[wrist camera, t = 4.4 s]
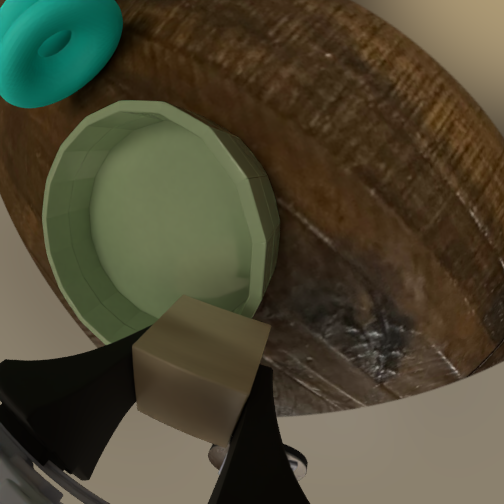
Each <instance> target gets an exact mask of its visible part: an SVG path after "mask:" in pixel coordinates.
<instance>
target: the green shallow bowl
mask: <svg viewBox="0 0 504 504" xmlns="http://www.w3.org/2000/svg"><path fill="white" fill-rule="evenodd" d="M42 222H43V231H44V239H45V246H46V252H47V257H48V259H49V262H50V265H51V268H52V271H53V273H54V276H55V279H56V281H57V284H58V286H59V289H60V291H61V292H62V294H63V295H64V297H65V299H66V300H67V302H68V303H69V305H70V306H71V308H72V309H73V311H74V312H75V314H76V315H77V317H78V318H79V320H81V322H82V323H83V324H84V325H85V326H86V327H87V328H88V329H89V330H90V331H91V332H92V333H93V334H94V335H96V336H97V337H98V338H99V339H100V340H101V341H102V342H103V343H104V344H105V345H108V344H111V343H113V342H115V341H118V340H120V339H122V338H125V337H127V336H129V335H131V334H133V333H135V332H138V331H140V330H142V329H144V328H146V327H148V326H150V325H153V324H154V323H155V322H156V321H157V320H158V319H159V318H160V317H161V316H162V315H163V314H164V313H165V312H166V311H167V310H168V309H169V308H170V307H171V306H172V305H173V304H174V303H175V302H176V301H177V300H178V299H179V298H180V297H181V296H182V295H186V296H189V297H192V298H194V299H197V300H200V301H202V302H205V303H208V304H211V305H213V306H216V307H219V308H222V309H224V310H227V311H230V312H233V313H236V314H239V315H242V316H245V317H248V318H251V319H252V318H253V316H254V314H255V312H256V310H257V308H258V307H259V305H260V303H261V301H262V298H263V296H264V294H265V291H266V289H267V287H268V284H269V282H270V280H271V277H272V275H273V272H274V270H275V268H276V262H277V253H278V249H279V237H280V218H279V213H278V208H277V203H276V198H275V195H274V192H273V190H272V187H271V184H270V181H269V179H268V176H267V174H266V173H265V171H264V169H263V167H262V166H261V164H260V163H259V161H258V160H257V159H256V157H255V156H254V154H253V153H252V152H251V151H250V149H249V148H248V147H247V146H246V145H245V144H244V143H243V142H242V140H241V139H240V138H239V137H238V136H236V135H234V134H233V133H231V132H230V131H228V130H227V129H225V128H223V127H221V126H220V125H218V124H216V123H214V122H213V121H211V120H209V119H207V118H206V117H204V116H201V115H199V114H196V113H194V112H191V111H189V110H186V109H183V108H181V107H178V106H175V105H173V104H170V103H167V102H163V101H141V100H122V101H118V102H116V103H114V104H112V105H109V106H107V107H105V108H103V109H101V110H99V111H97V112H95V113H93V114H91V115H89V116H87V117H86V118H84V119H83V120H82V122H81V123H80V124H79V125H78V126H77V127H76V128H75V129H74V130H73V132H72V133H71V134H70V135H69V136H68V137H67V138H66V140H65V141H64V142H63V143H62V144H61V146H60V148H59V150H58V153H57V155H56V157H55V160H54V162H53V164H52V167H51V169H50V172H49V174H48V177H47V180H46V186H45V193H44V202H43V212H42Z"/></svg>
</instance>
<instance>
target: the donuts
mask: <svg viewBox="0 0 504 504" xmlns="http://www.w3.org/2000/svg"><path fill="white" fill-rule="evenodd" d="M122 28H123V18H122V13H121V10H120V8H119V6H118V4H117V2H116V1H115V0H6V1H5V2H4V4H3V5H2V7H1V8H0V95H1V97H2V98H3V99H4V100H5V101H7V102H8V103H10V104H12V105H15V106H18V107H22V108H37V107H43V106H47V105H50V104H53V103H55V102H58V101H60V100H62V99H64V98H66V97H68V96H70V95H72V94H73V93H75V92H76V91H78V90H79V89H81V88H82V87H84V86H85V85H86V84H87V83H88V82H90V81H91V80H92V79H93V78H94V77H95V76H96V75H97V74H98V73H99V72H100V71H101V70H102V69H103V67H104V66H105V65H106V64H107V62H108V61H109V60H110V58H111V57H112V55H113V53H114V52H115V50H116V48H117V46H118V43H119V41H120V37H121V34H122Z"/></svg>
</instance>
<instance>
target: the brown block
mask: <svg viewBox="0 0 504 504" xmlns="http://www.w3.org/2000/svg"><path fill="white" fill-rule="evenodd" d="M270 329H271V325H269V324H266V323H263V322H260V321H257V320H254V319H251V318H248V317H245V316H242V315H239V314H236V313H233V312H230V311H227V310H224V309H222V308H219V307H216V306H213V305H211V304H208V303H205V302H202V301H200V300H197V299H194V298H192V297H189V296H186V295H182V296H181V297H180V298H179V299H178V300H177V301H176V302H175V303H174V304H173V305H172V306H171V307H170V308H169V309H168V310H167V311H166V312H165V313H164V314H163V315H162V316H161V317H160V318H159V319H158V320H157V321H156V322H155V323H154V324H153V325H152V326H151V327H150V328H149V329H148V330H147V331H146V332H145V333H144V334H143V335H142V336H141V337H140V338H139V339H138V340H137V341H136V342H135V343H134V344H133V346H132V355H133V371H134V383H135V393H136V402H137V409H138V411H140V412H142V413H144V414H146V415H148V416H150V417H152V418H154V419H156V420H158V421H160V422H162V423H164V424H166V425H168V426H171V427H173V428H175V429H177V430H180V431H182V432H184V433H187V434H189V435H192V436H194V437H196V438H199V439H202V440H204V441H207V442H209V443H212V444H215V445H218V446H221V447H224V448H226V447H227V446H228V444H229V441H230V439H231V437H232V435H233V432H234V430H235V428H236V425H237V423H238V421H239V418H240V416H241V413H242V411H243V409H244V406H245V404H246V401H247V399H248V397H249V394H250V391H251V388H252V385H253V382H254V379H255V376H256V373H257V370H258V367H259V364H260V361H261V358H262V355H263V352H264V349H265V345H266V342H267V339H268V336H269V333H270Z"/></svg>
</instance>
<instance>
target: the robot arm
mask: <svg viewBox="0 0 504 504" xmlns="http://www.w3.org/2000/svg"><path fill="white" fill-rule="evenodd" d="M151 326H152V325H150V326H148V327H146V328H144V329H142V330H140V331H138V332H135V333H133V334H131V335H129V336H127V337H125V338H122V339H120V340H118V341H115V342H113V343H111V344H108V345H105V346H103V347H100V348H97V349H95V350H92V351H89V352H85V353H82V354H77V355H74V356H68V357H62V358H57V359H49V360H36V361H35V360H34V361H23V360H7V359H6V360H4V361H2V362H1V363H0V401H1V402H2V404H1V405H0V504H63V503H61V502H60V499H61V498H62V497H63V494H62V493H61V492H60V491H59V490H57V489H56V488H55V487H54V486H52V485H51V484H50V483H49V482H48V481H46V480H45V479H44V478H43V477H42V476H41V475H40V474H39V473H38V472H36V471H35V470H34V468H33V462H34V463H35V464H36V465H37V466H38V467H39V468H40V469H41V470H42V471H43V472H44V473H46V474H47V475H48V476H49V477H50V478H52V479H53V480H54V481H55V482H56V483H58V484H59V485H60V486H61V487H63V488H64V489H65V490H66V491H68V492H69V493H70V494H72V495H73V496H75V497H76V498H77V499H79V500H80V501H81V502H83V503H84V504H110V503H108V502H106V501H105V500H103V499H101V498H100V497H98V496H97V495H95V494H93V493H92V492H90V491H89V490H88V489H86V488H85V487H83V486H82V485H80V484H79V483H78V482H76V481H75V480H74V479H72V478H71V477H69V476H68V475H67V474H65V473H64V472H63V471H64V470H65V471H67V472H68V473H69V474H74V475H75V476H77V477H78V478H79V479H80V480H89V479H90V477H91V475H92V473H93V470H94V468H95V466H96V464H97V462H98V460H99V458H100V456H101V454H102V452H103V451H104V448H105V447H106V445H107V443H108V442H109V440H110V438H111V436H112V435H113V433H114V431H115V429H116V428H117V426H118V425H119V423H120V422H121V420H122V418H123V417H124V416H125V414H126V413H127V412H128V410H129V409H130V408H131V406H133V404H134V403H135V402H136V393H135V383H134V371H133V355H132V346H133V344H134V343H135V342H136V341H137V340H138V339H139V338H140V337H141V336H142V335H143V334H144V333H145V332H146V331H147V330H148V329H149V328H150V327H151ZM297 466H298V465H297V464H296V463H291V462H289V460H288V458H287V455H286V452H285V449H284V446H283V443H282V439H281V435H280V432H279V427H278V423H277V418H276V412H275V405H274V397H273V370H272V368H270V367H267V366H264V365H261V364H259V367H258V370H257V373H256V376H255V379H254V382H253V385H252V388H251V391H250V394H249V397H248V399H247V401H246V404H245V406H244V409H243V411H242V413H241V416H240V418H239V421H238V423H237V425H236V428H235V430H234V432H233V435H232V438H231V442H230V446H229V450H228V452H227V455H226V457H225V459H224V461H223V463H222V466H221V468H220V470H219V472H218V474H219V478H218V480H217V483H216V485H215V488H214V490H213V493H212V495H211V497H210V499H209V502H208V504H310V503H309V501H308V500H307V498H306V496H305V494H304V492H303V491H302V489H301V487H300V485H299V483H298V481H297V479H296V477H295V474H294V472H293V471H294V470H295V469H296V468H297Z"/></svg>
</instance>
